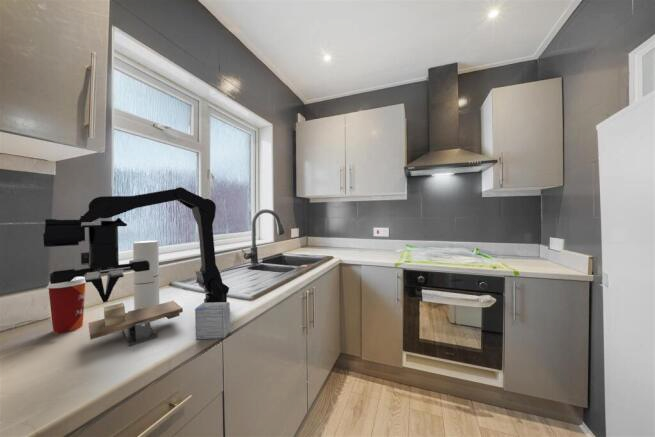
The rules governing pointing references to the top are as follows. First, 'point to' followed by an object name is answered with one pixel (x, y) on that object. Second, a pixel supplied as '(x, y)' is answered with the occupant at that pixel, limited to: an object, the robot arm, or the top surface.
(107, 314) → the maple block
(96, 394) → the top surface
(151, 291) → the cylindrical container
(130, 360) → the top surface
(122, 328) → the beam
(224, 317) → the medicine box
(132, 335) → the beam stand
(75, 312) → the coffee cup
